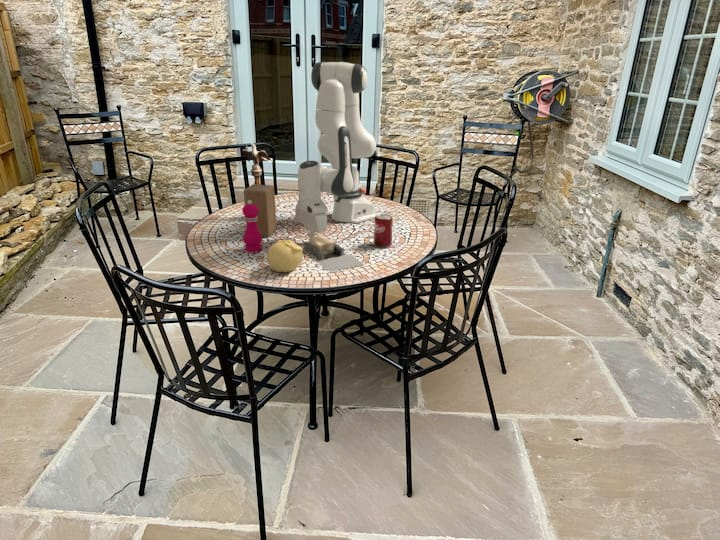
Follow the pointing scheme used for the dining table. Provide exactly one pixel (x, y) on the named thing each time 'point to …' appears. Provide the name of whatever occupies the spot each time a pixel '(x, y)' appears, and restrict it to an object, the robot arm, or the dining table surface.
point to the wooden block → (263, 207)
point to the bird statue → (256, 161)
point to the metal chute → (337, 252)
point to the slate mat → (340, 263)
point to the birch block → (322, 244)
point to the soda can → (383, 230)
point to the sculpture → (284, 256)
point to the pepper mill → (251, 228)
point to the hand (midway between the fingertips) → (310, 237)
